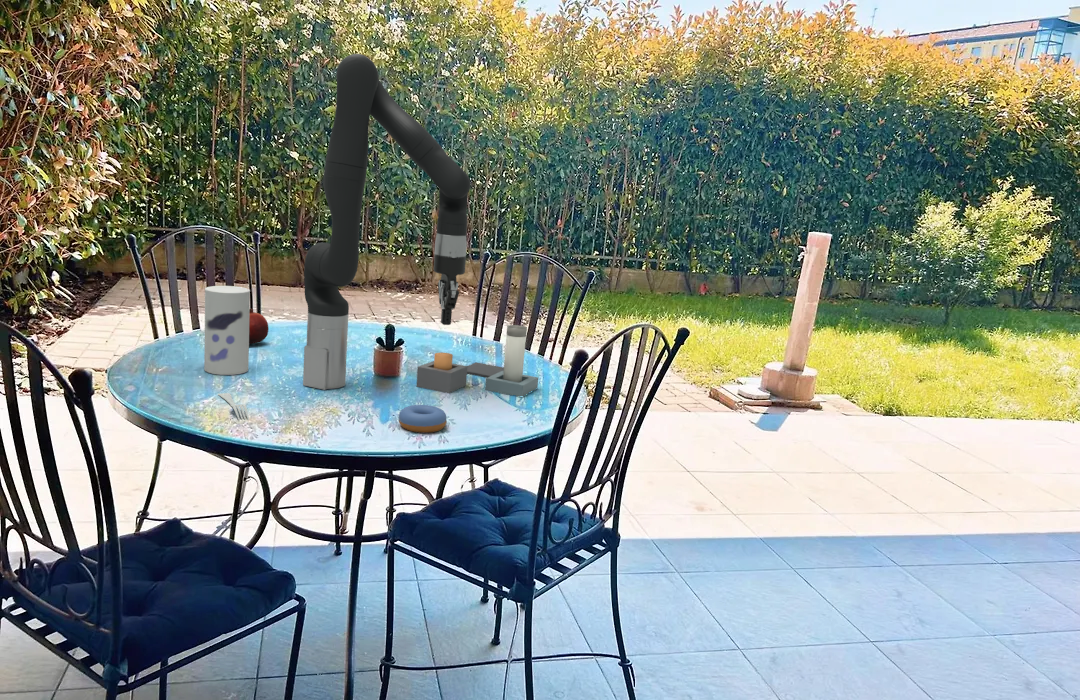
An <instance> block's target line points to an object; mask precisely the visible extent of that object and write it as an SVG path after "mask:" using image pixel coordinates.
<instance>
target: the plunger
mask: <svg viewBox="0 0 1080 700" xmlns="http://www.w3.org/2000/svg"><path fill="white" fill-rule="evenodd" d="M453 357H454V356H453V354H452V353H450V352H436V353H434V360H433V361H434V368H437V369H442V370H447V371H448V370H450V369H452V363H453Z"/></svg>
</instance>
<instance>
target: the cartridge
mask: <svg viewBox="0 0 1080 700" xmlns="http://www.w3.org/2000/svg"><path fill="white" fill-rule="evenodd" d="M527 331H528V328H527V326H524V325H518V324H509V325H507V326H506V338H505V350H504V362H503V367H504V371H503V380H508V381H513V382H518V383H520V382H522V375H524V364H525V363H524V362H525V354H526V353H525V352H526V339H527Z"/></svg>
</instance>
